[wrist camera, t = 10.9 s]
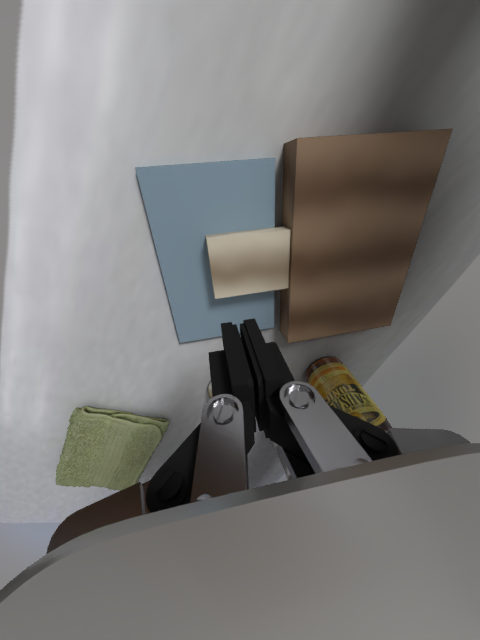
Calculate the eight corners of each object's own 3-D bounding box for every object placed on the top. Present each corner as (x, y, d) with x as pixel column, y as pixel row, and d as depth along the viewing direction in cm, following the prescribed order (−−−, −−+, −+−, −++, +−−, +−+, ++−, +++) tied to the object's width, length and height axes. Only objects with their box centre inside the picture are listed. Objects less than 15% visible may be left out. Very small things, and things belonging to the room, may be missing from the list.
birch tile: (205, 235, 23) (206, 239, 21) (283, 226, 24) (290, 229, 22) (213, 291, 26) (215, 298, 24) (282, 281, 27) (288, 288, 25)
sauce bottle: (333, 347, 34) (471, 503, 18) (345, 371, 38) (472, 522, 21) (295, 369, 35) (392, 539, 18) (310, 391, 38) (404, 552, 22)
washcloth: (173, 412, 36) (171, 431, 33) (138, 476, 42) (134, 496, 39) (77, 395, 31) (66, 416, 28) (54, 470, 37) (43, 493, 34)
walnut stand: (284, 143, 21) (297, 138, 18) (422, 135, 22) (452, 128, 20) (279, 330, 31) (287, 343, 28) (374, 314, 33) (390, 325, 30)
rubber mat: (136, 168, 20) (135, 167, 19) (273, 158, 21) (275, 157, 20) (180, 340, 29) (179, 343, 28) (272, 325, 30) (274, 327, 30)
